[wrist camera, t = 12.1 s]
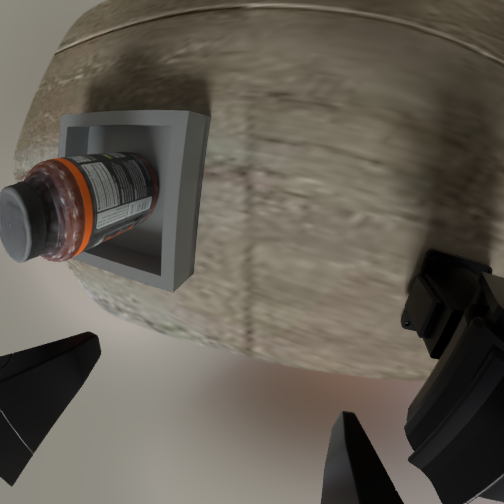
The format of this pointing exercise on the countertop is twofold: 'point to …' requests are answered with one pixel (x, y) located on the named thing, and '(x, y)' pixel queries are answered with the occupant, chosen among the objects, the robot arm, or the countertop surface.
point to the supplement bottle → (75, 204)
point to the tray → (169, 188)
